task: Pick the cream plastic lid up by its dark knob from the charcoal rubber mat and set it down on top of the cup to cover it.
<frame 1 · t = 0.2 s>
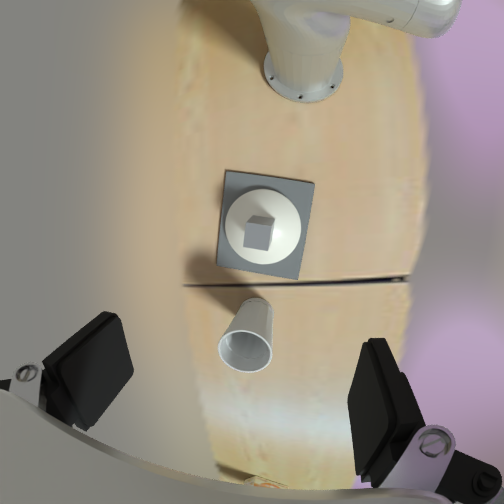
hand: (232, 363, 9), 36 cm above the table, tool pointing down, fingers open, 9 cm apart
lid: (263, 226, 44), resting on mat
coffeecake box: (267, 483, 70), on the table
mat: (263, 226, 44), on the table
cup: (256, 312, 49), on the table
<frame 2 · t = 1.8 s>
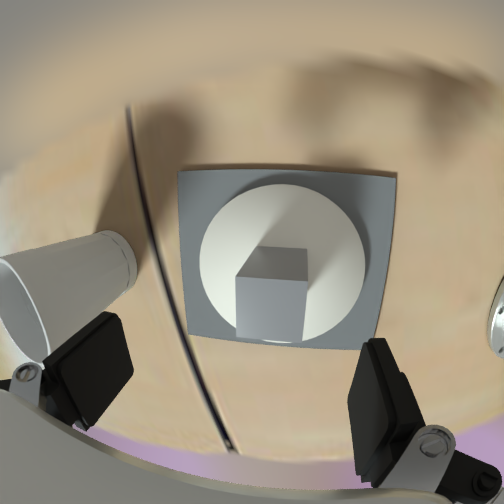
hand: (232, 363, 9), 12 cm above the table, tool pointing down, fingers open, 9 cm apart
lid: (281, 267, 20), resting on mat
mat: (282, 264, 20), on the table
cup: (112, 261, 24), on the table
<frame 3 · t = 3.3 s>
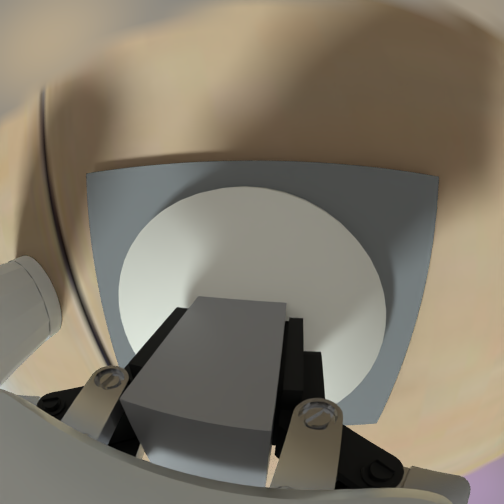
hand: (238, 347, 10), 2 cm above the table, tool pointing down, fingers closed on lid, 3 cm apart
lid: (246, 324, 12), point 1 cm above the table, touching gripper, mat
mat: (246, 319, 12), on the table
cup: (37, 295, 15), on the table
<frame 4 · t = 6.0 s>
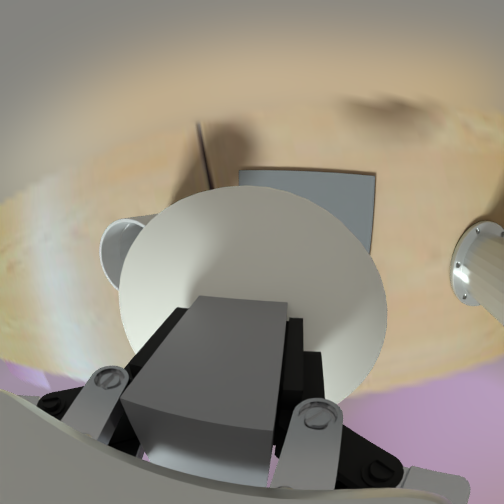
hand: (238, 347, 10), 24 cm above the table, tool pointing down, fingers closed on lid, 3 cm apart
lid: (246, 324, 12), point 22 cm above the table, touching gripper
mat: (305, 230, 32), on the table
cup: (181, 233, 35), on the table
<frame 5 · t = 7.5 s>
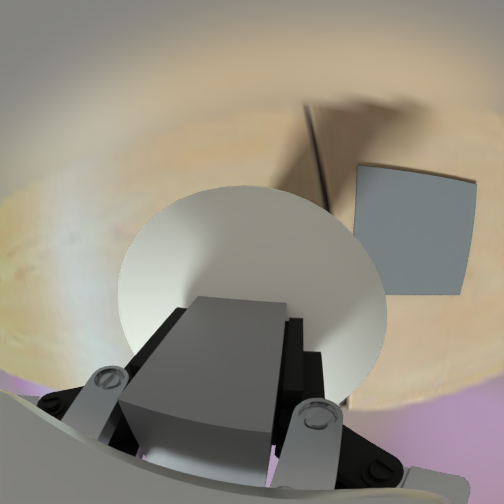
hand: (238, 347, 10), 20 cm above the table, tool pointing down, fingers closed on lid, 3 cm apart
lid: (245, 325, 12), point 18 cm above the table, touching gripper
mat: (418, 236, 26), on the table
when the fingers open (15 cm above the table, at t = 8.5 s): lid drops 2 cm, resting on cup.
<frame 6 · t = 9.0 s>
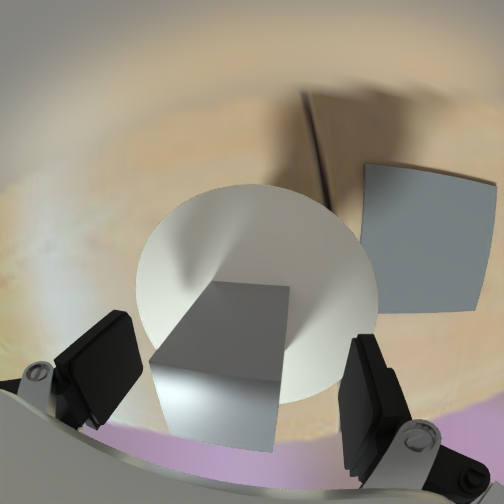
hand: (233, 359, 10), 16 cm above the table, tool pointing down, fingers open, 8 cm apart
lid: (252, 308, 13), point 12 cm above the table, touching cup
mat: (433, 246, 22), on the table
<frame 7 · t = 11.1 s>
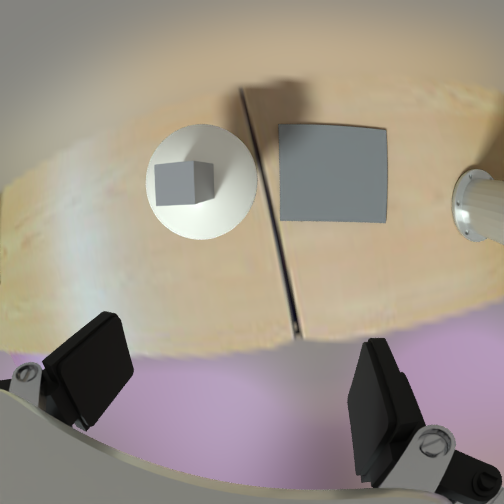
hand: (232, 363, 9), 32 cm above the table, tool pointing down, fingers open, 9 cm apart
lid: (200, 181, 28), point 12 cm above the table, touching cup
mat: (335, 173, 37), on the table
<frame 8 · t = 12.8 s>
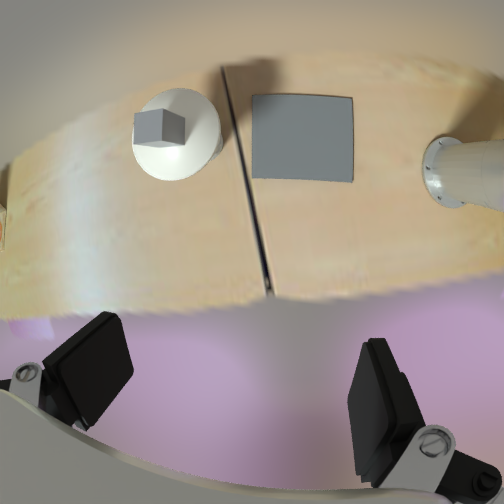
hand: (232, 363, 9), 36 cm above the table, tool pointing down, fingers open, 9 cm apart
lid: (175, 133, 31), point 12 cm above the table, touching cup
coffeecake box: (1, 226, 57), on the table
mat: (302, 136, 40), on the table
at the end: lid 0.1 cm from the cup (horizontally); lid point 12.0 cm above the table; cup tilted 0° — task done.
